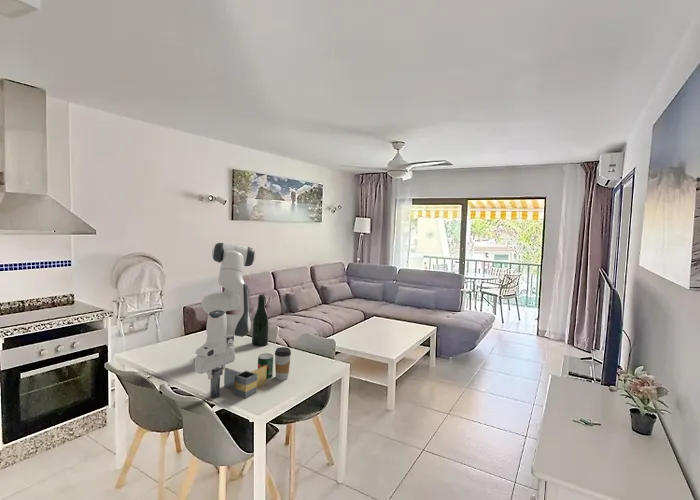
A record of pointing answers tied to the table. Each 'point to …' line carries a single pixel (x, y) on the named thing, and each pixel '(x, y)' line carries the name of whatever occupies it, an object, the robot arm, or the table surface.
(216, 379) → the hinge pin
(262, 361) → the canned tomato
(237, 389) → the hinge leaves
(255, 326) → the green wine bottle
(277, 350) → the coffee cup
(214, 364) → the robot arm
